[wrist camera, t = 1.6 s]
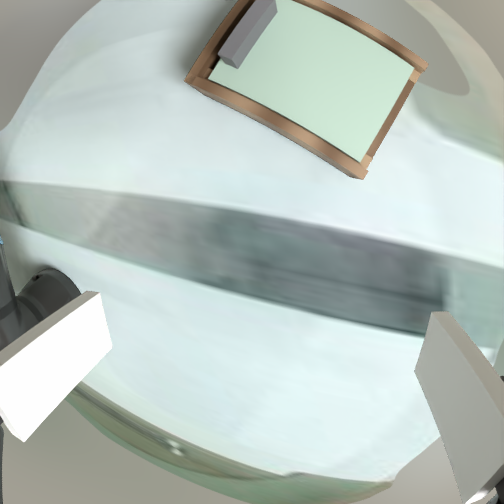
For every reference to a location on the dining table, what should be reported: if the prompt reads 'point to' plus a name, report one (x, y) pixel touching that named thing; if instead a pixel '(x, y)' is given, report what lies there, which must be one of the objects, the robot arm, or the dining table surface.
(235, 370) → the dining table surface
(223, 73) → the mint green panel
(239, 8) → the box
